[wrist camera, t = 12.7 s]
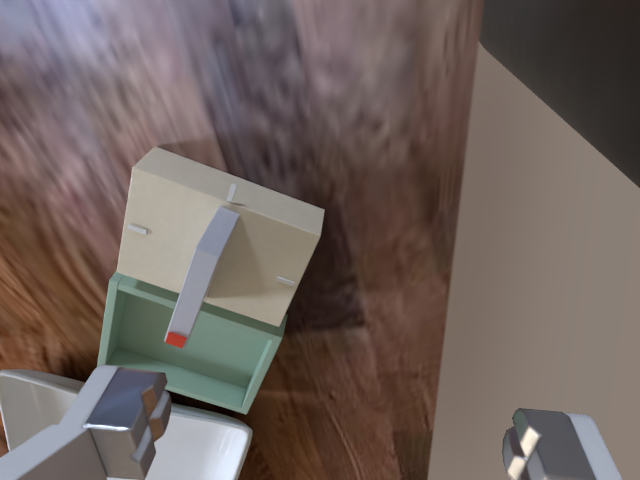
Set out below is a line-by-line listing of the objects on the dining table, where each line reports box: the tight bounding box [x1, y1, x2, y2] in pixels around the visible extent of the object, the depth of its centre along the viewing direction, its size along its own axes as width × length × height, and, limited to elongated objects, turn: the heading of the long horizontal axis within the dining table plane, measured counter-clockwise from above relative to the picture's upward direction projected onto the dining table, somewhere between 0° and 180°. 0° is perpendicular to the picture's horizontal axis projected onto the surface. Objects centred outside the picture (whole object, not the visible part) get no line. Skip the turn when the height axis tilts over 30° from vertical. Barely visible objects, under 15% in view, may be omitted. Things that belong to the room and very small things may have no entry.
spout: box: [164, 206, 240, 348], centre depth 33 cm, size 9×2×6 cm, turn 156°
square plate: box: [0, 369, 253, 480], centre depth 56 cm, size 27×27×4 cm
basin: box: [97, 271, 288, 414], centre depth 44 cm, size 16×12×3 cm
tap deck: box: [117, 146, 325, 327], centre depth 37 cm, size 14×13×4 cm
